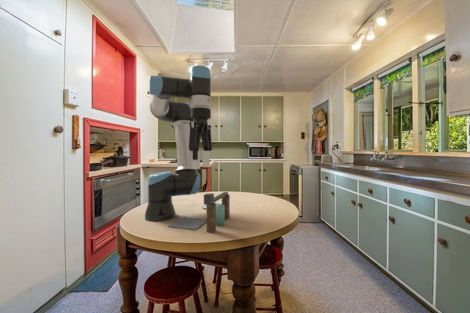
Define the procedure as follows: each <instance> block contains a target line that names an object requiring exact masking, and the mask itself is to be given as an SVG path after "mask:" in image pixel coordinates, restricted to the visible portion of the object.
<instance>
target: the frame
mask: <svg viewBox="0 0 470 313" xmlns="http://www.w3.org/2000/svg"><path fill="white" fill-rule="evenodd" d="M230 198H231V197H230V194H228V195H226V196H225V197H223V198H221V204H223V205H224V208H225V221H227V220H229V219H230V218H231V212H230V207H231V206H230V202H231V201H230ZM216 204H217V203H216V202H214V203H213V204H211V205H206V219H207V222H206V233H212V234H214V233H215V232H216V231H217V226H216Z"/></svg>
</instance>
